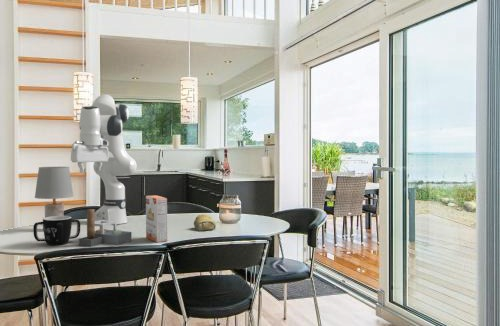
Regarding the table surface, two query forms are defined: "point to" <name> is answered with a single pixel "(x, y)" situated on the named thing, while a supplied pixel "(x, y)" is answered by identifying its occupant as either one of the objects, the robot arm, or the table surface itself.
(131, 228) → the table surface
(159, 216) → the cracker box
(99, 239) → the block
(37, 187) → the lamp
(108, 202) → the robot arm
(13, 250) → the table surface
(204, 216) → the pastry
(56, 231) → the mug
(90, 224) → the dowel
